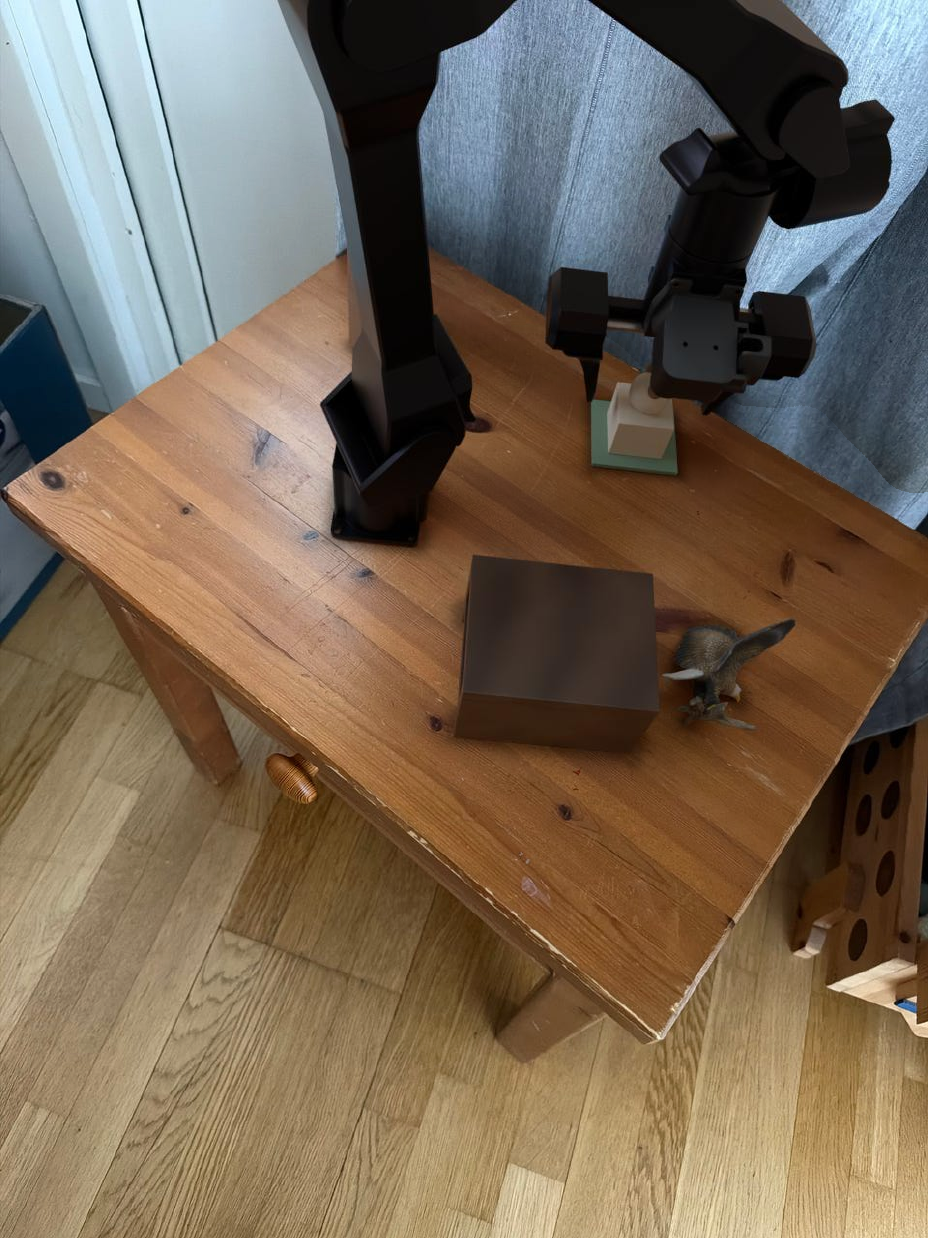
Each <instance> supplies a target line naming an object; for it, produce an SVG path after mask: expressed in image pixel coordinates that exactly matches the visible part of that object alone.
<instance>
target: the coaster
mask: <svg viewBox="0 0 928 1238" xmlns="http://www.w3.org/2000/svg"><path fill="white" fill-rule="evenodd" d="M610 403H611V401H610V400H601V399H594V398H593V401H592V402H590V452H591V454H590V457H591V459H590V460H591V461H590V462H591V464H590V465H591V467H592V468H593V467H595V468H603V469H613V470H621V471H628V472H629V471H630V472H639V473H647V474H648V473H649V474H656V475H657V474H658V475H666V476H673V477H674V476H675V477H676V476H677V475H678V472H679V471H678V457H677V443H676V442H677V441H676V430H675V427H674V431H673V433H672V435H671V438H670V440H669V442H668V444H667V447H666V449H665V451H664V454H663V456H662V458H661V459H656V458H647V457H638V456H629V455H620V454H611V453H608V425H607V412H608V409H609V406H610ZM673 422H674V423H675V415H674V413H673Z"/></svg>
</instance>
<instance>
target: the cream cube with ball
mask: <svg viewBox="0 0 928 1238" xmlns="http://www.w3.org/2000/svg"><path fill="white" fill-rule="evenodd" d="M645 369H646V371H645V372H642V373H640V374H639V375H637V376H636V377H635V378H634V379H633V381H632V382H631V383H629V382H617V383H616V386H615V388H614V391H613V394H612V398H611V403H610V406H609V409H608V412H607V425H608V453H611V454H620V455H629V456H638V457H647V458H656V459H661V458H662V456H663V454H664V451H665V449H666V447H667V444H668V442H669V440H670V438H671V435H672V433H673V431H674V428H675V421H674V422H673V414H674V408H673V398H671V399H666V398H661V397H658V396H657V395H655V394H654V393H653V391H652V390H651V387H650V376H651V369H652V362H650V363H648V365H647V366H646V368H645Z"/></svg>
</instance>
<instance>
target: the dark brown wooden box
mask: <svg viewBox="0 0 928 1238" xmlns="http://www.w3.org/2000/svg"><path fill="white" fill-rule="evenodd" d="M468 573H469V574H468V579H467V584H466V590H465V595H464V596H465V597H464V600H463V605H462V617H461V623H463V625H462V627H463V628H462V637H461V638H462V640H461V652H460V654H461V655H460V666H459V667H460V668H459V679H458V691H457V692H458V694H457V708H456V713H455V717H454V721H453V723H454V724H453V735H452V736H453V737H454V738H463V739H474V740H484V741H494V742H505V743H506V742H507V743H516V744H526V745H535V746H536V745H537V746H548V747H555V748H556V747H557V748H566V749H567V748H568V749H579V750H588V751H598V752H608V753H609V752H610V753H620V754H632V752H633V751H634V749H635V748H636V747H637V745H638V744H639V742H640V741H641V740H642V738H643V737H644V735H645V734H646V732H647V731H648V729H649V728H650V726H651V725H652V724H653V722H654V721H655V719H656V718H657V716H658V715H659V714H660V712H661V706H660V705H661V704H660V683H659V667H658V666H659V665H658V645H657V626H656V625H657V624H656V607H655V606H656V605H655V585H654V574H653V573H650V572H641V571H631V570H623V569H622V570H621V569H614V568H604V567H595V566H584V565H574V564H573V565H572V564H567V563H565V564H564V563H556V562H546V561H537V560H528V559H519V558H508V557H501V556H500V557H499V556H491V555H483V554H482V555H480V554H472V557H471V562H470V568H469V572H468Z"/></svg>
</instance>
